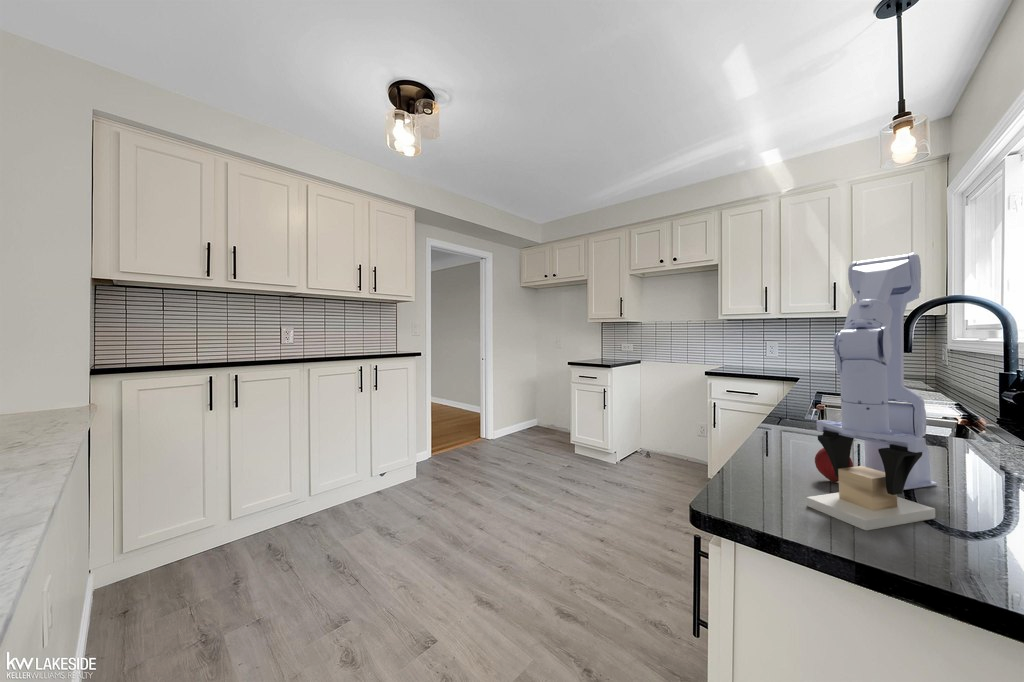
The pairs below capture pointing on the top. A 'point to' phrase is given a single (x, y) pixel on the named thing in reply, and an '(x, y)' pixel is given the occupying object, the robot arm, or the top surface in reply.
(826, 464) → the onion
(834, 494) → the cutting board
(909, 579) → the top surface
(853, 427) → the robot arm
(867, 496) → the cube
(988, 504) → the top surface
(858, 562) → the top surface
